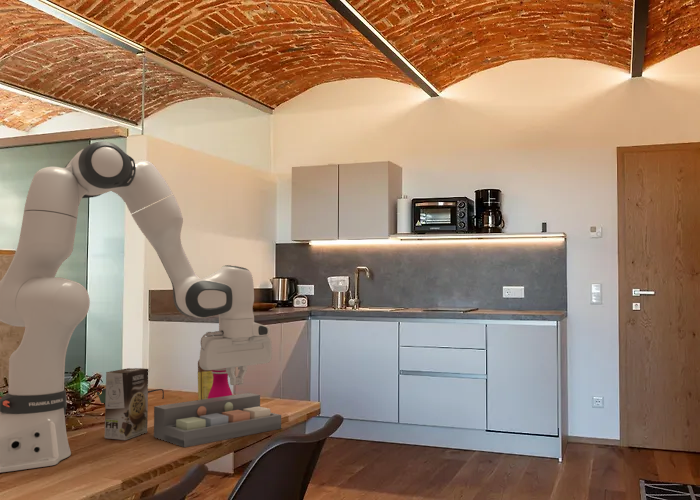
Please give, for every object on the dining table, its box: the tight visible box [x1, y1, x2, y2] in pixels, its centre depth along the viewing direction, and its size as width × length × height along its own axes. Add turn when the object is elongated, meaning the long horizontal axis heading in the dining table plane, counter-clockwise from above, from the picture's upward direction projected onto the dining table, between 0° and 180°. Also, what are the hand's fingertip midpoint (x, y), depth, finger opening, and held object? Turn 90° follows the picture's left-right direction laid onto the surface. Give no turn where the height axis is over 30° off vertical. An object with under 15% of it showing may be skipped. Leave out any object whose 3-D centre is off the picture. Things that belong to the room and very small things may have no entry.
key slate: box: [200, 413, 228, 427], centre depth 170 cm, size 5×5×2 cm
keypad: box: [153, 392, 282, 448], centre depth 175 cm, size 28×14×8 cm, turn 134°
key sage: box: [176, 417, 206, 430], centre depth 166 cm, size 5×5×2 cm
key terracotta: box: [222, 410, 250, 423], centre depth 175 cm, size 5×5×2 cm
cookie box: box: [104, 367, 149, 441], centre depth 172 cm, size 9×6×16 cm
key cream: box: [243, 406, 271, 419], centre depth 180 cm, size 5×5×2 cm
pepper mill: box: [208, 368, 233, 399], centre depth 196 cm, size 7×7×20 cm
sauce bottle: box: [197, 360, 213, 400], centre depth 213 cm, size 7×6×20 cm
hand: (236, 384), depth 176 cm, fingers closed
